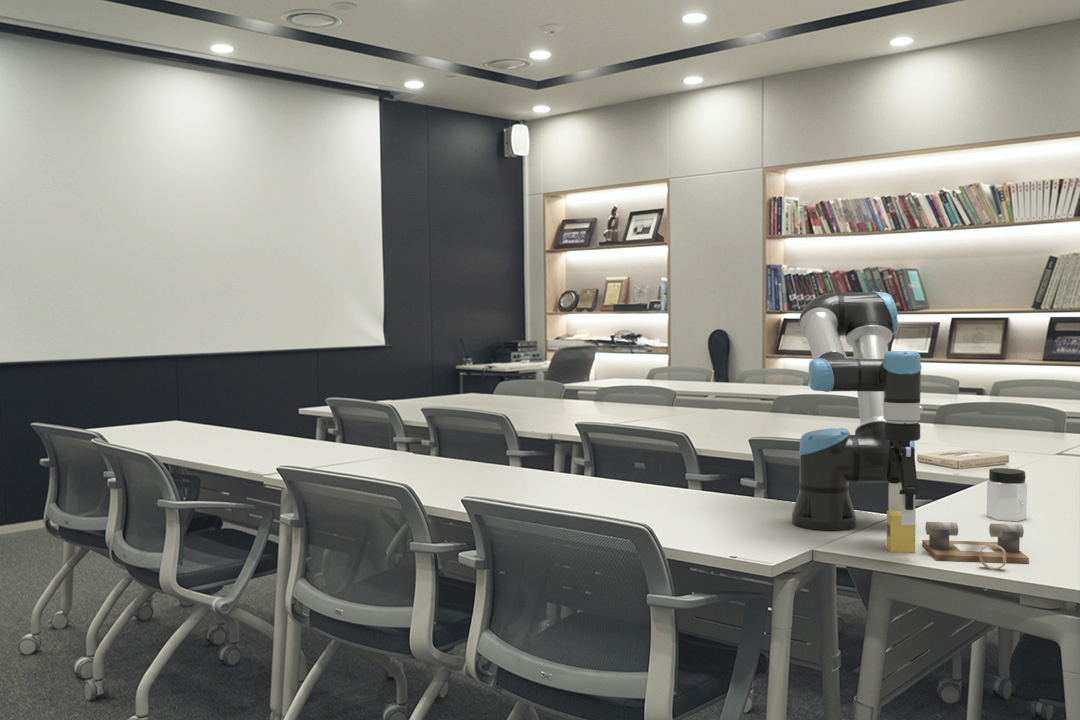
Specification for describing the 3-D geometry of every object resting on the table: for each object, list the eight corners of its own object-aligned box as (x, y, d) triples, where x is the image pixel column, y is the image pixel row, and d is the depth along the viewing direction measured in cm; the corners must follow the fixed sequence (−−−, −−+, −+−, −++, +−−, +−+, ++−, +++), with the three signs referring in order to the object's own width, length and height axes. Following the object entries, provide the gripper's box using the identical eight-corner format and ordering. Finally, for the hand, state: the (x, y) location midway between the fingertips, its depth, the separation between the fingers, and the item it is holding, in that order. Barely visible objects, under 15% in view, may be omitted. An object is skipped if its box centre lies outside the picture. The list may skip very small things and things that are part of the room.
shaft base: (934, 560, 194) (934, 528, 193) (919, 545, 206) (920, 515, 206) (1031, 563, 190) (1032, 531, 190) (1010, 547, 203) (1011, 517, 203)
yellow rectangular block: (890, 552, 201) (890, 515, 200) (885, 546, 206) (886, 510, 205) (915, 552, 200) (916, 516, 199) (910, 547, 205) (911, 511, 204)
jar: (1012, 523, 227) (1013, 474, 226) (981, 517, 233) (981, 470, 233) (1032, 518, 231) (1033, 471, 231) (1000, 512, 238) (1001, 466, 238)
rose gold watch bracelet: (1004, 572, 185) (1004, 547, 184) (978, 568, 187) (978, 544, 187) (1006, 568, 187) (1006, 544, 187) (980, 565, 189) (980, 541, 189)
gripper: (934, 427, 188) (933, 530, 189) (907, 416, 213) (907, 507, 214) (895, 427, 190) (894, 529, 190) (873, 416, 214) (873, 506, 215)
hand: (901, 518), depth 202 cm, fingers open, 13 cm apart
